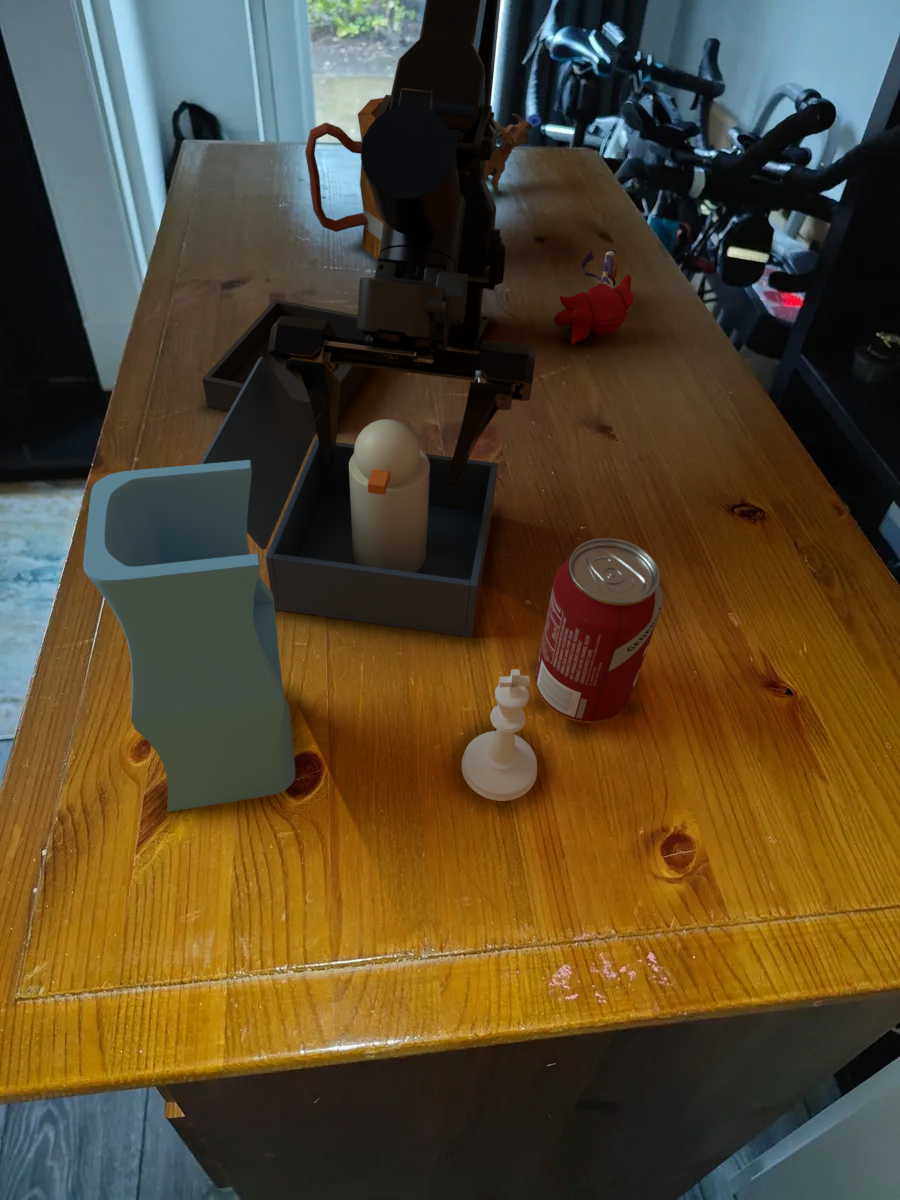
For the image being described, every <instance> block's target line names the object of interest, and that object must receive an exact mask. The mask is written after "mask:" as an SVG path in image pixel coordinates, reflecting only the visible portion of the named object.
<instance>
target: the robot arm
mask: <svg viewBox="0 0 900 1200" xmlns="http://www.w3.org/2000/svg"><path fill="white" fill-rule="evenodd" d="M501 2H502V0H425V4H424V10H423V16H422V24H421V27H420V32H419V37H418V40H416V41H415V43H414V44H412V46H410V47H409V48H408V49H407V50H406V52H404V53H403V54H402V55H401V56H400V57H399V59H398V61H397V65H396V69H395V73H394V74H395V75H394V79H393V83H392V88H391V92H390V94H385V95H384V96H383V98H384V99H383V101H382V104H381V106H380V108H379V111H378V113H377V115H376V118H375V120H374V122H373V123H372V124H371V125H370V127H369V128H368V130H367V132H366V134H365V136H364V137H363V139H362V144H361V154H360V162H361V161H362V165H363V169H364V172H365V175H366V178H367V181H368V184H369V187H370V189H371V192H372V195H373V198H374V201H375V204H376V207H377V210H378V213H379V215H380V217H381V219H382V220H384V223H383V231H382V238H381V246H380V253H379V258H378V260H377V261H376V265H375V272H374V276H373V277H360V278H359V287H358V288H359V289H358V300H357V301H358V303H357V315H358V317H357V329H359V330H361V331H362V333H363V334H365V335H369V336H368V341H367V340H358V339H350V338H342V337H339V336H338V335H337V333H336V332H335V331H334V329H333V328H332V326H331V325H330V323H329V322H328V321H323V320H315V319H306V318H298V317H290V316H281V317H280V318H279V319H278V320H277V321H276V322H275V323H274V325H273V326H272V328H271V332H270V339H269V347H268V353H269V354H270V355H272V356H273V357H274V358H275V359H276V360H277V361H278V362H279V363H280V364H281V365H282V366H283V367H284V368H285V369H286V370H288V371H289V372H290V373H291V374H292V375H293V376H295V377H296V378H297V379H298V380H299V381H300V382H301V383H302V384H304V385H305V388H306V390H307V393H308V396H309V400H310V403H311V406H312V410H313V414H314V419H315V424H316V429H317V431H316V434H317V440H319V445H320V451H321V456H322V461H323V466H324V469H326V470H331V469H332V466H333V461H334V456H335V451H336V442H337V436H338V423H339V416H338V412H339V399H340V385H341V383H340V382H339V381H338V380H337V378H336V377H335V376H334V375H333V374H332V373H333V372H334V371H336V370H337V369H338V368H339V365H340V364H342V365H350V366H358V367H367V368H370V369H376V370H383V371H390V372H391V371H393V372H399V373H400V372H402V373H409V374H416V375H424V376H432V377H441V378H448V379H455V380H466V381H470V383H469V388H468V394H467V399H466V404H465V408H464V413H463V417H462V420H461V424H460V428H459V432H458V435H457V436H458V437H457V440H456V444H455V448H454V452H453V455H452V457H453V459H452V463H451V470H450V478H449V485H450V486H453V487H454V486H455V485H456V483H457V481H458V479H459V477H460V475H461V473H462V471H463V469H464V467H465V465H466V463H467V461H468V459H470V456H471V455H472V453H473V450H474V449H475V447H476V444H477V442H478V441H479V440H480V437H481V436H482V434H483V432H484V431H485V430H486V429H487V427H488V425H489V423H490V422H491V421H492V419H493V418H494V416H495V415H496V414H497V412H498V411H500V410H501V411H510V410H512V405H513V401H519V402H525V401H530V400H531V395H532V387H533V380H534V374H535V373H534V372H535V366H536V359H537V354H536V353H535V351H534V350H533V348H532V347H531V345H529V344H522V343H515V342H514V343H512V342H507V341H496V340H489V339H481V338H482V337H483V335H484V333H485V331H486V329H487V327H488V325H489V324H490V317H488V316H487V315H482V309H483V299H484V298H483V296H484V295H483V294H484V289H486V290H489V291H495V288H496V286H498V285H501V284H503V282H504V277H505V276H504V275H505V265H506V244H505V243H504V242H503V239H502V237H503V236H502V235H501V232H502V231H501V228H498V227H496V217H497V206H496V203H495V201H494V198H493V196H492V193H491V191H490V189H489V186H488V183H487V181H485V179H484V169H485V162H486V160H491V157H492V154H493V151H494V148H495V146H497V142H498V139H497V135H498V124H497V123H496V122H497V120H495V112H494V111H493V106H492V96H493V94H492V93H493V87H494V86H493V84H494V74H495V64H496V53H497V43H498V33H499V22H500V11H501ZM480 340H481V341H480ZM479 342H480V346H479V351H478V353H473V352H465V351H457V350H449V349H448V346H456V347H459V348H465V349H470V350H474V349H476V348H477V346H478V344H479ZM379 354H380V355H381V356H380V355H379ZM378 355H379V356H378ZM384 356H387V357H384ZM390 357H393V358H390ZM418 359H421V360H422V361H421V360H420V361H418ZM423 360H426V361H425V362H424V361H423ZM427 360H428V361H432V362H428V361H427Z"/></svg>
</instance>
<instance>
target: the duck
mask: <svg viewBox="0 0 900 1200" xmlns="http://www.w3.org/2000/svg"><path fill="white" fill-rule="evenodd" d="M354 445H355V447H354V454H353V455H352V457H351V459H350V462H349V479H350V500H351V522H352V543H353V558H354V561H355V563H356V565H362V566H369V567H376V568H383V569H391V570H398V571H405V572H412V573H416V572H417V571H418V570H419V569H420V568H421V567H422V566H423V564H424V562H425V559H426V549H427V524H428V500H429V475H430V463H429V460H428V458H427V456H426V455H425V454H426V453H425V452H424V451H423V450H422V449H421V447H420V443H419V440H418V437H417V436H416V434H415V432H413V430H412V429H411V428H410V427H408V425H406V424H404V423H403V422H401V421H399V420H395V419H390V418H389V419H387V418H385V419H379V420H375V421H373V422H371V423H368V424H367V425H366V426H365V427H364V428H363V429H361V432H360V433H359V434H358V436H357V438H356V440H355V443H354Z"/></svg>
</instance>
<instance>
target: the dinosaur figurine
mask: <svg viewBox="0 0 900 1200" xmlns="http://www.w3.org/2000/svg"><path fill="white" fill-rule="evenodd" d="M511 116H513V117H514V118H515V119H516V120H517V122H518V123H517V124H514V123H510V124H509V125H507V126H505V127H504V126H503V125H500V124H501V122H500V120H496V123H497V124H498V135H497V140H499V138H500V140H501V141H500V144H499V145H496V146H495V148H494V151H493V154H492V157H491V160H486V162H485V169H484V179H485V181H486V182H488V180H490V178H489V176H490V177H492V178H491V186H492V190H493V193H495V194H496V195H500V196H501V195H503V192H501V190H499V181H500V179H501V177H502V174H503V173H504V172H505V170H506V163H507V161H508V159H509V157H510V155H511V154H512V152H513V150H514V149H515V148H516V147H519V146H520V144H528V143H529V142H530V140H531V139H530V137H529V136H530V133H529V131H532V130H533V126H532V124H531V123H529V122H528V121H526V120H523V119H522V117H521V116H520V115H518V114H517V113H512V114H511Z"/></svg>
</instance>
